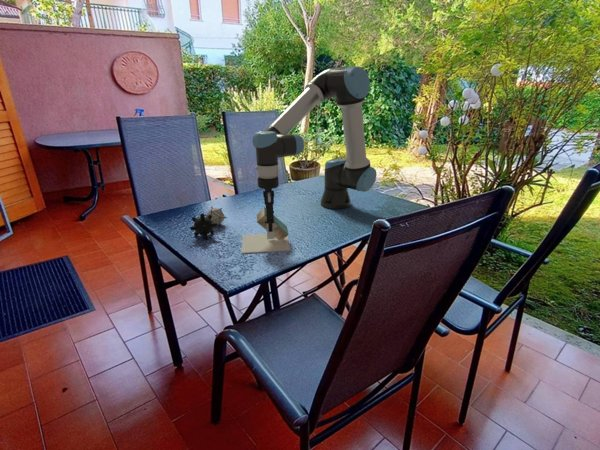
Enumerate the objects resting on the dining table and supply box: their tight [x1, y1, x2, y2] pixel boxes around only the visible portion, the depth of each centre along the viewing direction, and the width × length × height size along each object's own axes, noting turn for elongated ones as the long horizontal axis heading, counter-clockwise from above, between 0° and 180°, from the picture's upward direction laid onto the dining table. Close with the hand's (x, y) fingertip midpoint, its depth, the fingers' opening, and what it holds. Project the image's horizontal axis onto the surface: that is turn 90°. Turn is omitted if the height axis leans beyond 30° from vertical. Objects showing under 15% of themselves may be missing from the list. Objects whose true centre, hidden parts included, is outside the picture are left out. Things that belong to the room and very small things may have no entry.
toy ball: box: [189, 213, 218, 241], centre depth 137 cm, size 11×11×12 cm
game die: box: [204, 206, 228, 227], centre depth 148 cm, size 9×8×10 cm
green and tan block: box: [256, 206, 290, 242], centre depth 129 cm, size 4×8×12 cm
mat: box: [240, 233, 292, 255], centre depth 132 cm, size 18×16×1 cm
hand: (270, 234), depth 131 cm, fingers closed on green and tan block, 8 cm apart
